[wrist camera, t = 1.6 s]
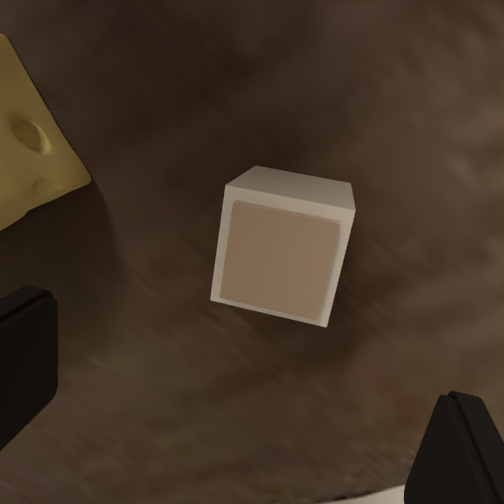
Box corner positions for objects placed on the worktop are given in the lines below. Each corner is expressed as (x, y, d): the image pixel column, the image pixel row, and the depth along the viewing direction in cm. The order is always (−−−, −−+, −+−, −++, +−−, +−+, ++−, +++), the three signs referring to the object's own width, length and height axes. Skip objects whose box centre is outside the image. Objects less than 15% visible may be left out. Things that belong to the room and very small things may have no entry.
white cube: (255, 165, 24) (221, 187, 17) (350, 183, 23) (356, 213, 16) (242, 253, 26) (206, 305, 19) (329, 271, 25) (326, 334, 18)
